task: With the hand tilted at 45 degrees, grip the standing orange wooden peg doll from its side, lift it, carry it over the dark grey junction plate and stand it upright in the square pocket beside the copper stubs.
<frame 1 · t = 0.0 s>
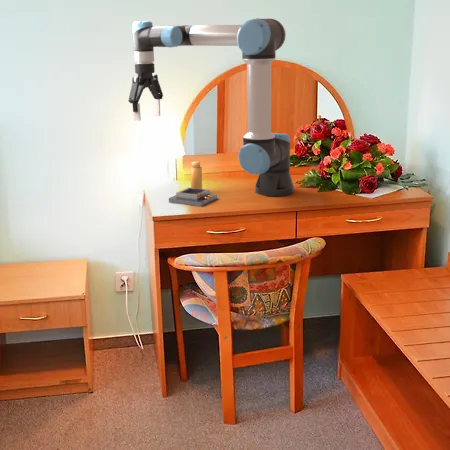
hand: (147, 118, 262), 28 cm above the table, tool pointing down, fingers open, 13 cm apart
junction plate: (193, 200, 248), on the table
wooden peg doll: (196, 192, 260), on the table
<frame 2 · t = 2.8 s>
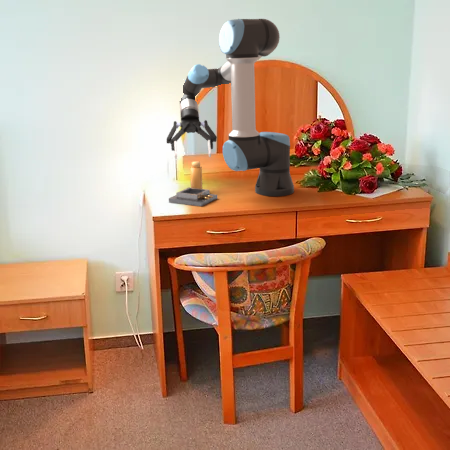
hand: (193, 156, 264), 13 cm above the table, tool tilted 45°, fingers open, 13 cm apart
nothing on the table moved.
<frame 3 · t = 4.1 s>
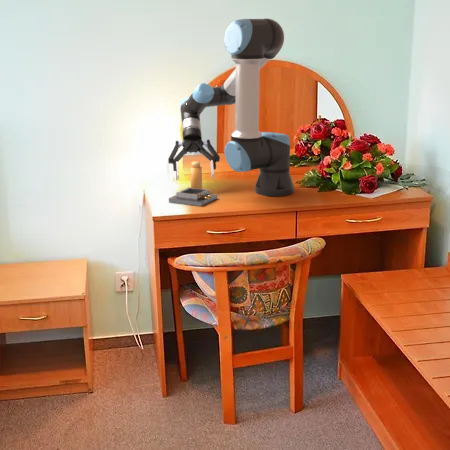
hand: (195, 176, 258), 6 cm above the table, tool tilted 45°, fingers open, 13 cm apart
nothing on the table moved.
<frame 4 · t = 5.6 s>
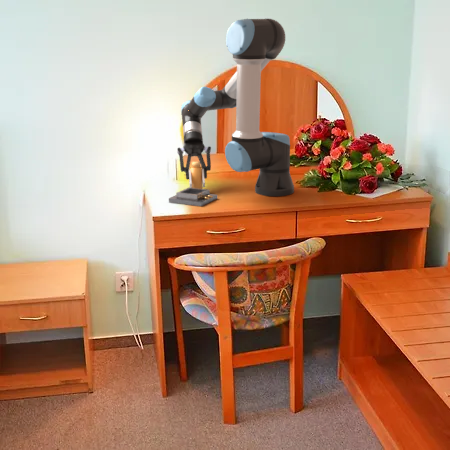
hand: (197, 185, 255), 4 cm above the table, tool tilted 45°, fingers closed on wooden peg doll, 4 cm apart
wooden peg doll: (196, 192, 260), on the table, touching gripper
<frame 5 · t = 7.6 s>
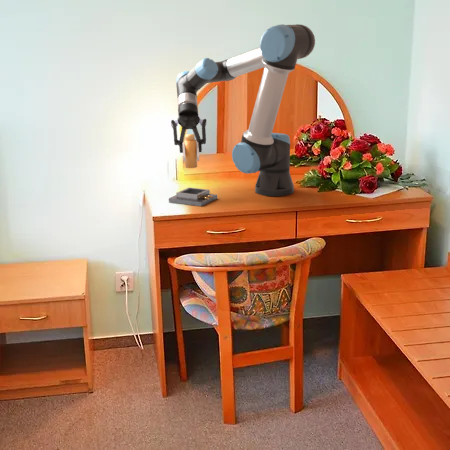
hand: (191, 158, 242), 16 cm above the table, tool tilted 45°, fingers closed on wooden peg doll, 4 cm apart
wooden peg doll: (191, 166, 246), point 12 cm above the table, touching gripper
when the fingers open (6 cm above the table, at t = 9.9 s): wooden peg doll stays where it is, resting on junction plate.
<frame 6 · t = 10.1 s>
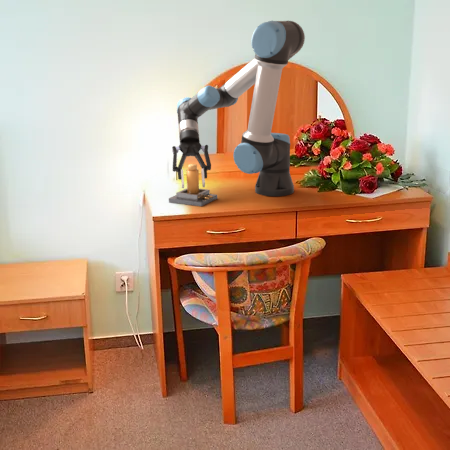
hand: (193, 185, 243), 6 cm above the table, tool tilted 45°, fingers open, 7 cm apart
wooden peg doll: (193, 196, 248), point 2 cm above the table, touching junction plate
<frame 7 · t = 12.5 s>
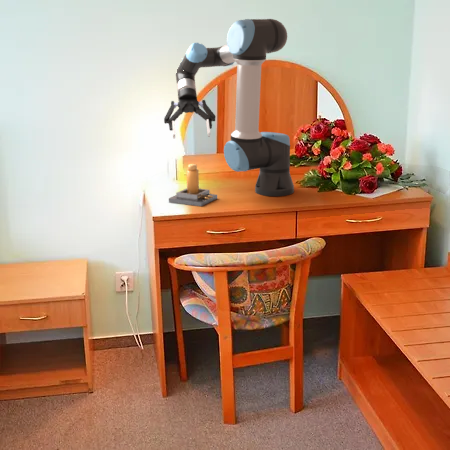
hand: (191, 135, 258), 22 cm above the table, tool tilted 45°, fingers open, 13 cm apart
nothing on the table moved.
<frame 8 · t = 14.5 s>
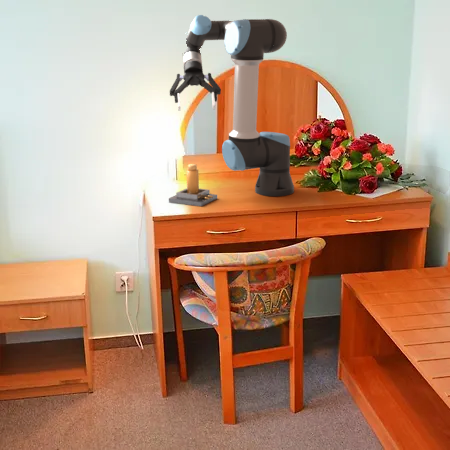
hand: (196, 108, 259), 32 cm above the table, tool tilted 45°, fingers open, 13 cm apart
nothing on the table moved.
at the end: wooden peg doll 0.1 cm off-centre on the junction plate, point 1.5 cm above the junction plate's base; wooden peg doll tilted 0°; the gripper is holding nothing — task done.
